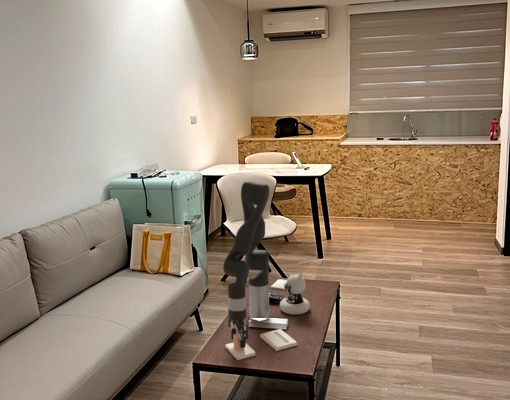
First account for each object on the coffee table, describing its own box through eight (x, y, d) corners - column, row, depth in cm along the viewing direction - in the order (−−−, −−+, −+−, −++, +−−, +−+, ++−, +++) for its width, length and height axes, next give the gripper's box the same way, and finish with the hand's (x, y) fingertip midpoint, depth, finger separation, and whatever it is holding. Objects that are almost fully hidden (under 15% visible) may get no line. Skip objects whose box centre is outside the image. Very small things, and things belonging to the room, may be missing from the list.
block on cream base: (225, 347, 224) (224, 331, 223) (242, 343, 228) (242, 327, 226) (237, 360, 214) (237, 343, 212) (255, 355, 217) (255, 338, 216)
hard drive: (284, 288, 284) (292, 280, 295) (270, 286, 288) (278, 278, 299) (284, 291, 285) (292, 283, 296) (270, 289, 288) (278, 281, 299)
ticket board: (260, 337, 233) (260, 333, 232) (280, 332, 237) (280, 328, 237) (276, 350, 221) (276, 347, 220) (296, 345, 225) (296, 341, 225)
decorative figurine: (273, 309, 262) (273, 270, 257) (295, 301, 270) (295, 264, 266) (293, 319, 250) (293, 279, 246) (316, 310, 259) (316, 271, 254)
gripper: (221, 302, 221) (223, 338, 224) (236, 314, 208) (237, 352, 212) (238, 298, 224) (239, 334, 227) (253, 310, 212) (254, 348, 215)
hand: (238, 343), depth 220 cm, fingers open, 8 cm apart
